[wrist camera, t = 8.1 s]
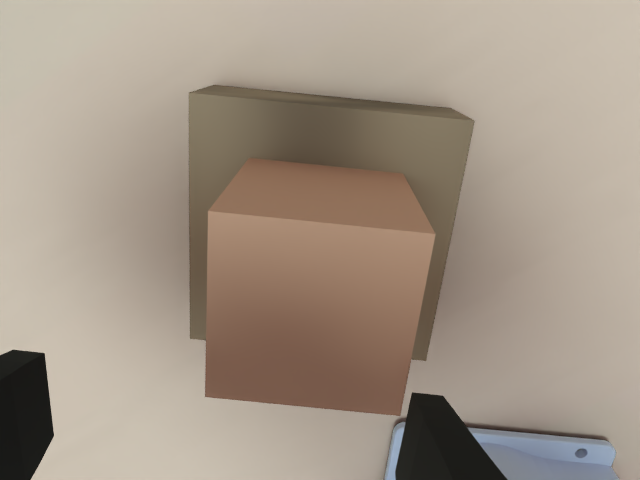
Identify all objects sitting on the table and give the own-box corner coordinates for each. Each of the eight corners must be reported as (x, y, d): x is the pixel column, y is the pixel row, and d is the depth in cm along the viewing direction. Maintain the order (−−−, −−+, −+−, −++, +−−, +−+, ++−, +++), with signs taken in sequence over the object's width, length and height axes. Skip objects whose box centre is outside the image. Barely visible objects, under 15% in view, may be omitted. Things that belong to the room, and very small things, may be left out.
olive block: (450, 108, 17) (474, 120, 14) (412, 315, 20) (426, 360, 17) (213, 85, 17) (188, 92, 14) (210, 296, 19) (190, 338, 17)
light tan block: (403, 173, 14) (436, 233, 10) (381, 308, 16) (399, 415, 11) (249, 158, 14) (208, 210, 10) (243, 294, 16) (205, 396, 11)
